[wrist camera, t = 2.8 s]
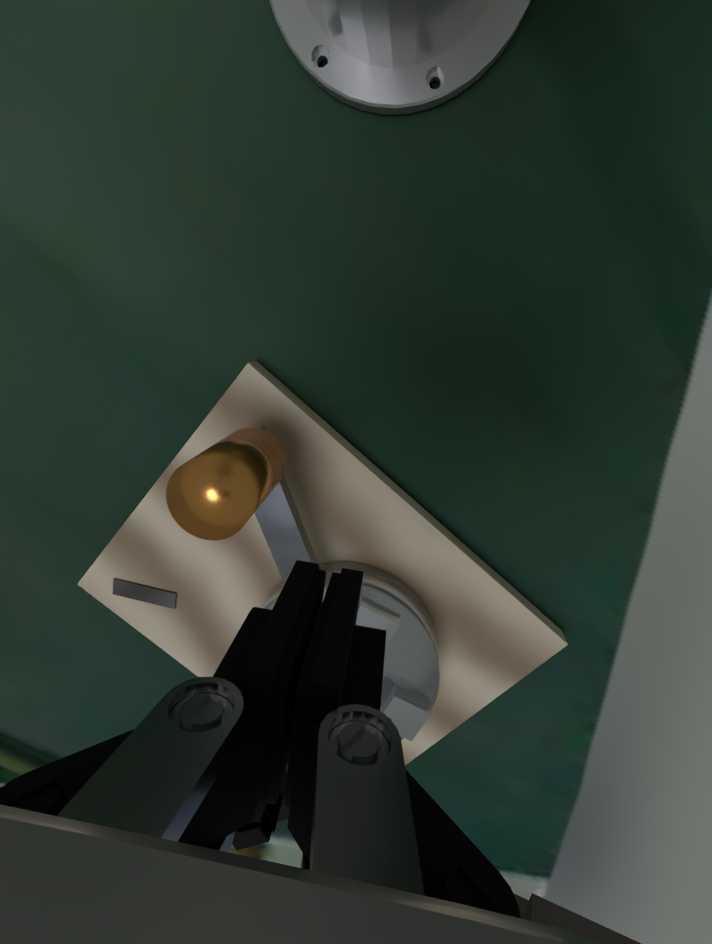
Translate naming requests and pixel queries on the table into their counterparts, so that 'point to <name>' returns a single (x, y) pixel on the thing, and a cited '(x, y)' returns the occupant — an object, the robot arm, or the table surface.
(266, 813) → the black stand with base
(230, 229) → the table surface
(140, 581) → the birch board
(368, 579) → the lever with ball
